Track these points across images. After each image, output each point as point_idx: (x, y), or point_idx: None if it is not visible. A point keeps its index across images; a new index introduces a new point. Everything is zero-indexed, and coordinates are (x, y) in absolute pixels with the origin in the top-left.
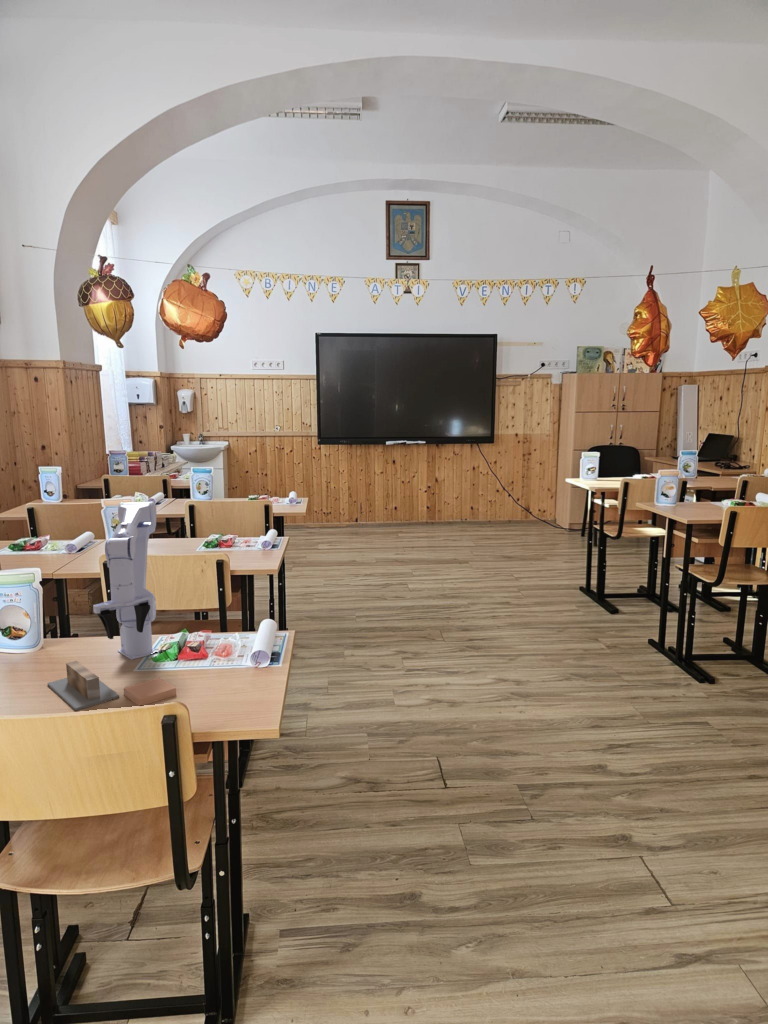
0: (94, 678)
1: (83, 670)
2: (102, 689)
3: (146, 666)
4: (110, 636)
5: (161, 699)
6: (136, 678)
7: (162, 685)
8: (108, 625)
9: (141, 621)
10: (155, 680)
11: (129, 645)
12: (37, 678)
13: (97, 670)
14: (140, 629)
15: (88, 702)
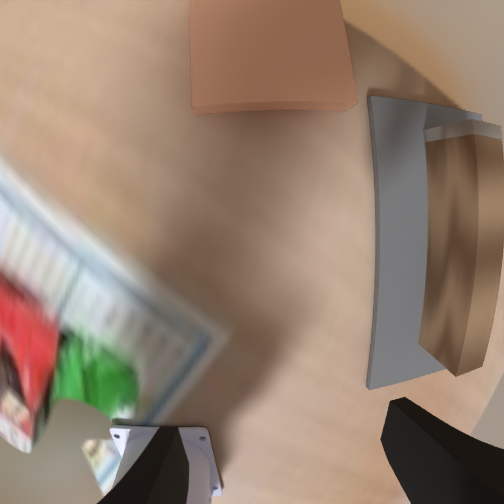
0: (483, 122)
1: (489, 248)
2: (401, 194)
3: (173, 346)
4: (418, 406)
5: None
6: (248, 247)
7: (219, 20)
8: (487, 446)
9: (148, 490)
10: (219, 84)
11: (200, 477)
12: (448, 415)
13: (329, 406)
14: (172, 441)
15: (454, 121)
